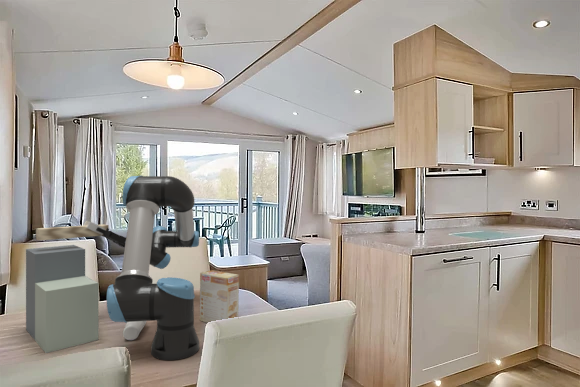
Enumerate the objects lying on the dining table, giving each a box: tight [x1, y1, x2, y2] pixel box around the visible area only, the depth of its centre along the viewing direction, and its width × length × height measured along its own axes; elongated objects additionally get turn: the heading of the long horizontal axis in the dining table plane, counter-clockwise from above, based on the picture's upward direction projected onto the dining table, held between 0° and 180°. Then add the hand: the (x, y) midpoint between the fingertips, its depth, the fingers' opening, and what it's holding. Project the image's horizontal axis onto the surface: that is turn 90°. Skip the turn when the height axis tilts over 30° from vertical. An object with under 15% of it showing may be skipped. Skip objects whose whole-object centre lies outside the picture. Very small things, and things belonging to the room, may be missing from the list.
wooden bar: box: [35, 224, 110, 241], centre depth 148 cm, size 24×4×4 cm, turn 135°
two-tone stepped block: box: [25, 244, 100, 354], centre depth 139 cm, size 16×28×30 cm, turn 45°
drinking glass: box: [122, 321, 147, 341], centre depth 142 cm, size 7×7×15 cm
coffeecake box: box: [199, 269, 240, 324], centre depth 154 cm, size 15×7×20 cm, turn 57°
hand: (86, 224), depth 151 cm, fingers closed on wooden bar, 4 cm apart
